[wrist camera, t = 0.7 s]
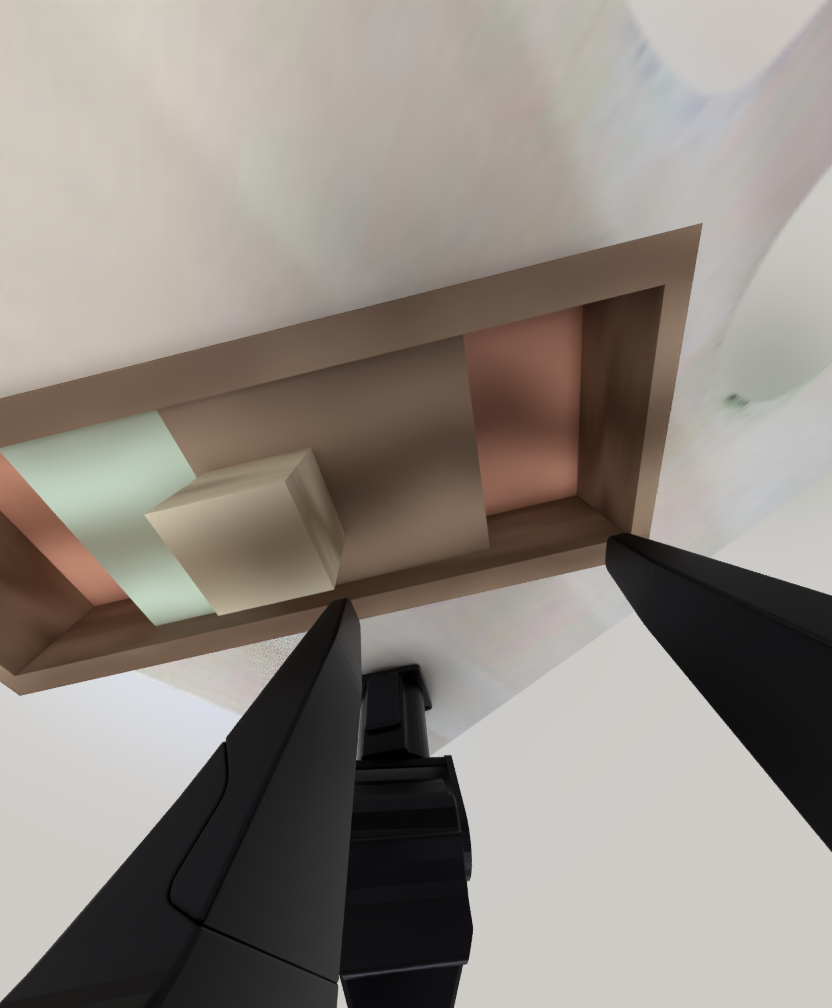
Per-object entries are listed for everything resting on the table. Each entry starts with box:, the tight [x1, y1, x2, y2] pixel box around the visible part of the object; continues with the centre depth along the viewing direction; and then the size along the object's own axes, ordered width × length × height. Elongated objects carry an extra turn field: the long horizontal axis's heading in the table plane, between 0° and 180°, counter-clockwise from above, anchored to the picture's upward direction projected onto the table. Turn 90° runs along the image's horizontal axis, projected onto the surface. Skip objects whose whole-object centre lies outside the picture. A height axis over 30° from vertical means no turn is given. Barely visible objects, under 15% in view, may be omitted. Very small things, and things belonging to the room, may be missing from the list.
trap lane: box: [0, 223, 702, 696], centre depth 16 cm, size 14×36×6 cm, turn 102°
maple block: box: [144, 447, 346, 616], centre depth 13 cm, size 5×5×4 cm
